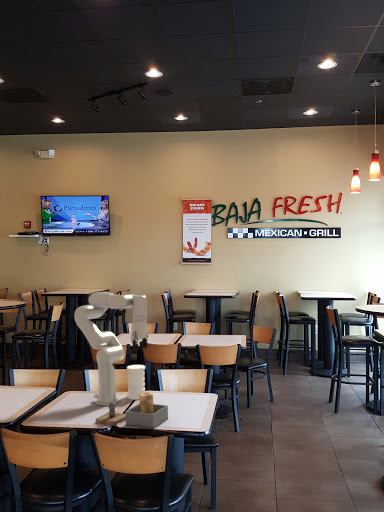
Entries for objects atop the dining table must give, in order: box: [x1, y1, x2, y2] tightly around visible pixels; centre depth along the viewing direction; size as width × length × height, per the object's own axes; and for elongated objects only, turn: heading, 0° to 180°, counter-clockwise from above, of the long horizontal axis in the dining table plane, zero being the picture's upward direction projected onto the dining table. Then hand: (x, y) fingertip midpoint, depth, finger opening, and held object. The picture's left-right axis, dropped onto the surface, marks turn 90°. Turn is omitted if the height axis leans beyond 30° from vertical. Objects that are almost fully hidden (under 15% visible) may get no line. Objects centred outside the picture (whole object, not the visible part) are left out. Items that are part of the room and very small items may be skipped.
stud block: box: [95, 402, 126, 427], centre depth 250 cm, size 12×12×9 cm
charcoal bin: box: [125, 402, 169, 430], centre depth 246 cm, size 16×16×7 cm
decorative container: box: [126, 364, 146, 401], centre depth 292 cm, size 12×12×18 cm
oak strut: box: [139, 391, 154, 414], centre depth 247 cm, size 6×6×13 cm
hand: (140, 349), depth 267 cm, fingers open, 9 cm apart
